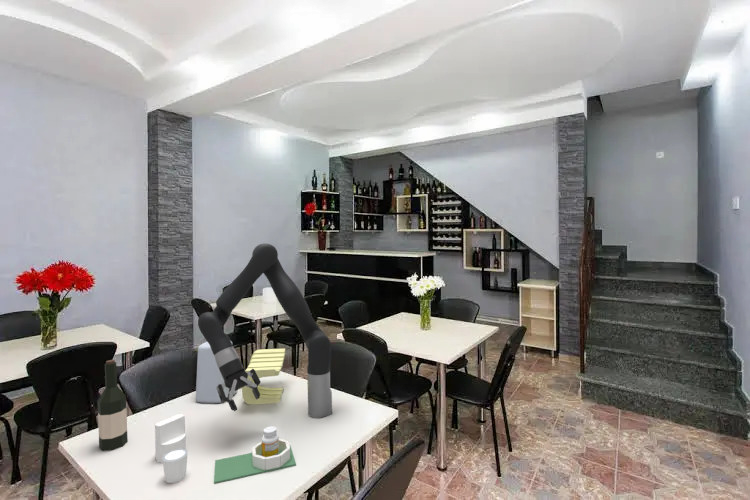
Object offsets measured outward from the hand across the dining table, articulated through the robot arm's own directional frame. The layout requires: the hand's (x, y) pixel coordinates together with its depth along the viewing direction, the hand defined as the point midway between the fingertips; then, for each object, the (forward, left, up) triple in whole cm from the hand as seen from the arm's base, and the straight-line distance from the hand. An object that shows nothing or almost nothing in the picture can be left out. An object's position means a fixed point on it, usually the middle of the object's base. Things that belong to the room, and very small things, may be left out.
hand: (247, 404), depth 134 cm
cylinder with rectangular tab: (+24, -2, -14) cm, 28 cm away
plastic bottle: (+11, -47, -14) cm, 51 cm away
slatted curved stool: (-8, -38, -14) cm, 42 cm away
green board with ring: (-2, +14, -14) cm, 20 cm away
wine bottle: (+44, -17, -14) cm, 50 cm away
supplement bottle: (-6, +14, -14) cm, 20 cm away
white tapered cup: (+21, +12, -14) cm, 28 cm away
